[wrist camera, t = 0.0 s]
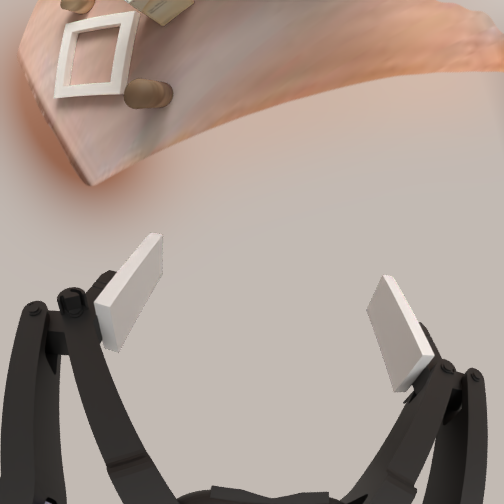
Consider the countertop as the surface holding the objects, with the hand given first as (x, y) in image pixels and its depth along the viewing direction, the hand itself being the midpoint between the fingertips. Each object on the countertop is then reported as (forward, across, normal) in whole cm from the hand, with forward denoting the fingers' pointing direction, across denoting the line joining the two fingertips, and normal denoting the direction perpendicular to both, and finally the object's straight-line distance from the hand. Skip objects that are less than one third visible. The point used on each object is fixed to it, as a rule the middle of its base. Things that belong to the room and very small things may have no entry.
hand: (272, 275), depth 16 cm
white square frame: (+28, -31, +16) cm, 45 cm away
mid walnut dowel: (+28, -18, +9) cm, 35 cm away
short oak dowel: (+28, -36, +27) cm, 53 cm away
